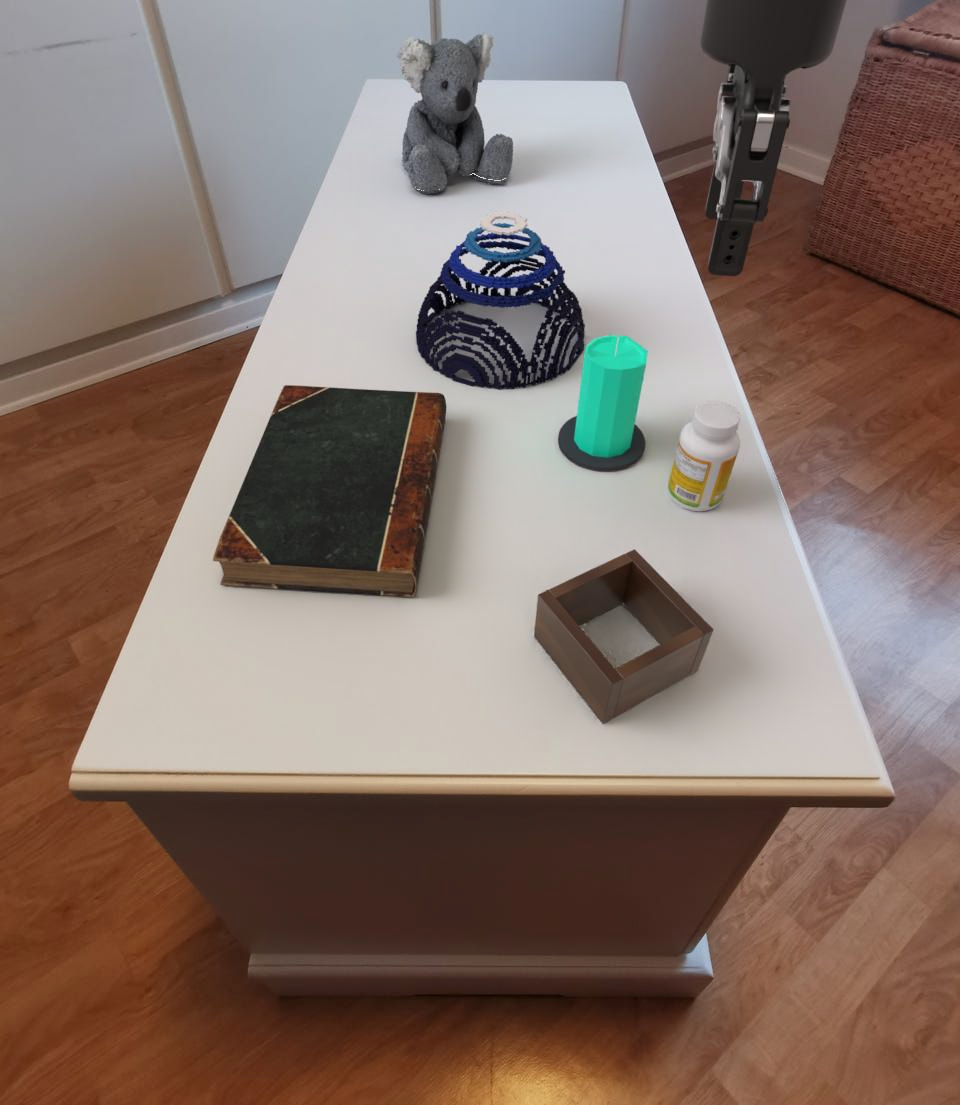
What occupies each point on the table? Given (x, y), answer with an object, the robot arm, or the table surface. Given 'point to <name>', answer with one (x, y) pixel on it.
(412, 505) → the book
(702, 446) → the supplement bottle
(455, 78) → the koala plush
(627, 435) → the candle
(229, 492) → the table surface
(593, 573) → the square wooden box
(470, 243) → the decorative bowl
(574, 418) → the coaster
